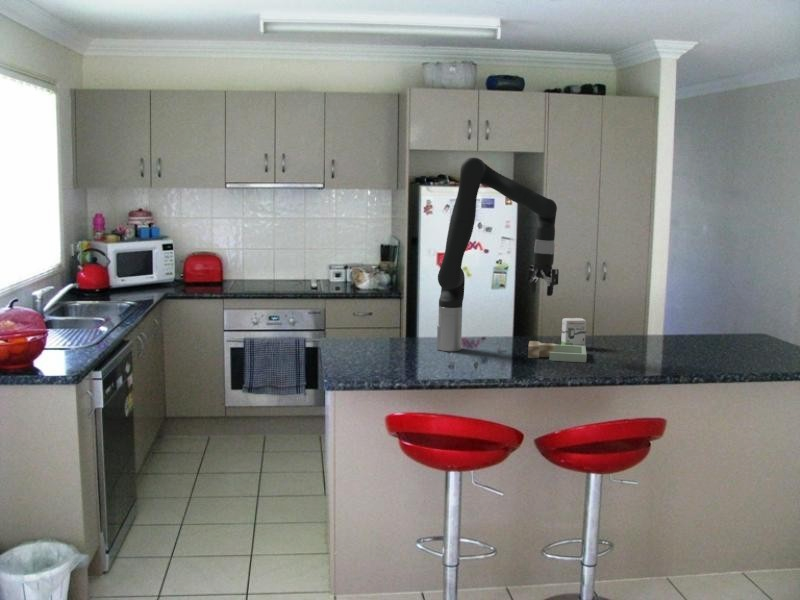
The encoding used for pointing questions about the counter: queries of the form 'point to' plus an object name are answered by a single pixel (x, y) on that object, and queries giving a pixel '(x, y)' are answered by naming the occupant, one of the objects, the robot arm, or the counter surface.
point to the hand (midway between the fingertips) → (541, 293)
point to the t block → (540, 349)
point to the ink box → (573, 331)
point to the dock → (569, 353)
